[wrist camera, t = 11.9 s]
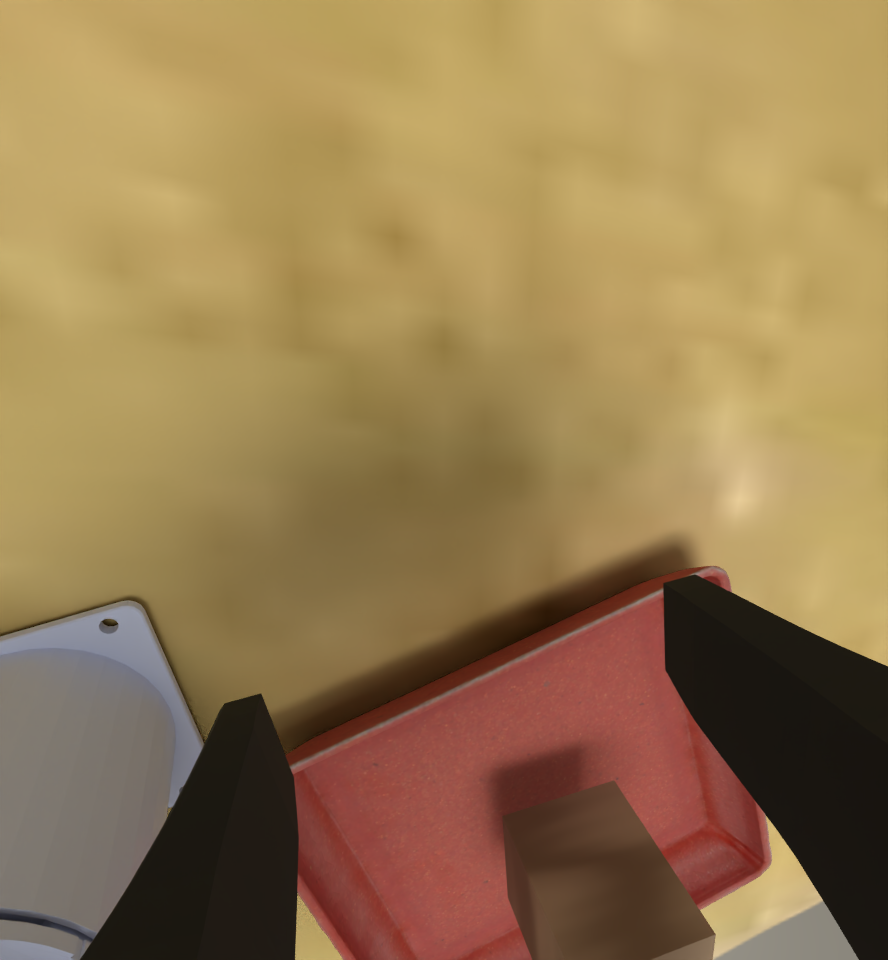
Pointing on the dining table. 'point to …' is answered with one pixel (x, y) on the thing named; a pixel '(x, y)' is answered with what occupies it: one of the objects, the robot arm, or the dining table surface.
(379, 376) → the dining table surface
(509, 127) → the dining table surface
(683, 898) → the walnut block
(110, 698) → the robot arm
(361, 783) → the plant saucer
